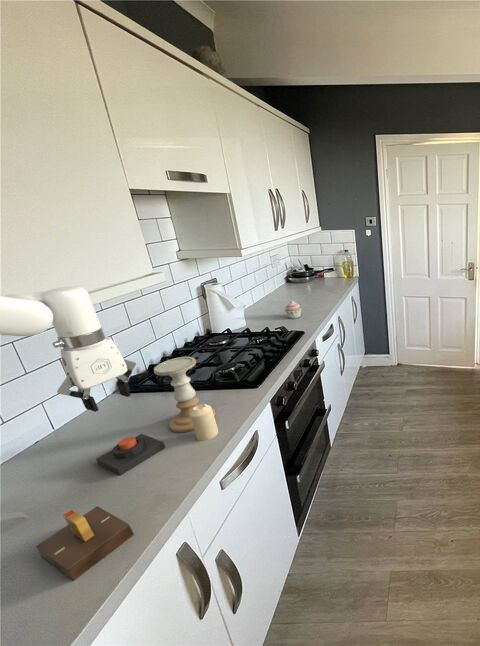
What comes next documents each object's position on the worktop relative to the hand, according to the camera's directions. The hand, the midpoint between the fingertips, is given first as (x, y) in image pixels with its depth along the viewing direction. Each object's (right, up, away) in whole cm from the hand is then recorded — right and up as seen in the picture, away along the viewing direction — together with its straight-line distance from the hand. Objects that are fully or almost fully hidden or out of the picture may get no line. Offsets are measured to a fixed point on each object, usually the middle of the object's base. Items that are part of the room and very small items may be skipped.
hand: (110, 402), depth 89 cm
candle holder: (+7, -11, +21) cm, 25 cm away
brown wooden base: (+12, -25, -18) cm, 33 cm away
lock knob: (+12, -23, -19) cm, 32 cm away
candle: (+16, -13, +14) cm, 25 cm away
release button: (0, -13, +5) cm, 14 cm away
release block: (0, -16, +6) cm, 18 cm away
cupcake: (+4, +23, +111) cm, 113 cm away
